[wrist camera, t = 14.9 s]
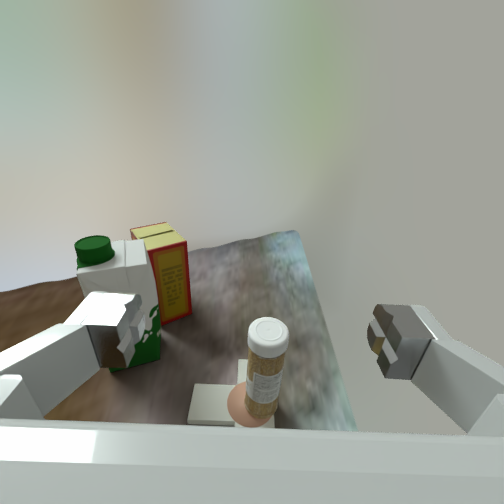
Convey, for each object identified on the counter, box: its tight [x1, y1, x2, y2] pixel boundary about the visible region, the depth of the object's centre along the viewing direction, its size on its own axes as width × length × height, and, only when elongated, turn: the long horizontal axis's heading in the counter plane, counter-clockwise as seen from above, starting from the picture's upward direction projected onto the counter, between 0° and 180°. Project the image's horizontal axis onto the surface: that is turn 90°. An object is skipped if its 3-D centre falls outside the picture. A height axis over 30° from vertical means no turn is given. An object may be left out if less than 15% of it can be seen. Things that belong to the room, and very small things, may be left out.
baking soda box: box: [130, 222, 192, 326], centre depth 51 cm, size 10×6×16 cm
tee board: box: [187, 359, 275, 428], centre depth 37 cm, size 11×14×1 cm
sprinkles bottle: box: [244, 317, 289, 419], centre depth 33 cm, size 5×5×13 cm
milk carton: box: [75, 235, 161, 372], centre depth 40 cm, size 9×9×20 cm
